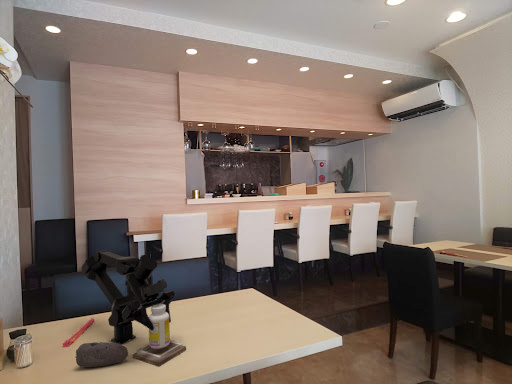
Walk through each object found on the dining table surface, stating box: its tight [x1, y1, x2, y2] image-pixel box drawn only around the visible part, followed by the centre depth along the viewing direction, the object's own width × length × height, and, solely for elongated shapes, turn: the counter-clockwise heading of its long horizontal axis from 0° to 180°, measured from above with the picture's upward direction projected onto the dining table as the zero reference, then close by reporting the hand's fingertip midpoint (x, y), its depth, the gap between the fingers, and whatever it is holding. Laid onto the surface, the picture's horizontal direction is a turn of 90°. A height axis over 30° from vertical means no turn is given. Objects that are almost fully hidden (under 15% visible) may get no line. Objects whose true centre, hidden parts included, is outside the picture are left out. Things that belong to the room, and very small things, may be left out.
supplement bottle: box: [148, 304, 171, 349], centre depth 107 cm, size 7×7×13 cm
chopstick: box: [62, 317, 95, 348], centre depth 126 cm, size 24×2×5 cm
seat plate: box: [132, 340, 187, 367], centre depth 107 cm, size 12×12×2 cm
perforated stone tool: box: [75, 341, 129, 368], centre depth 101 cm, size 15×5×7 cm, turn 98°
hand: (161, 325), depth 106 cm, fingers closed on supplement bottle, 7 cm apart
